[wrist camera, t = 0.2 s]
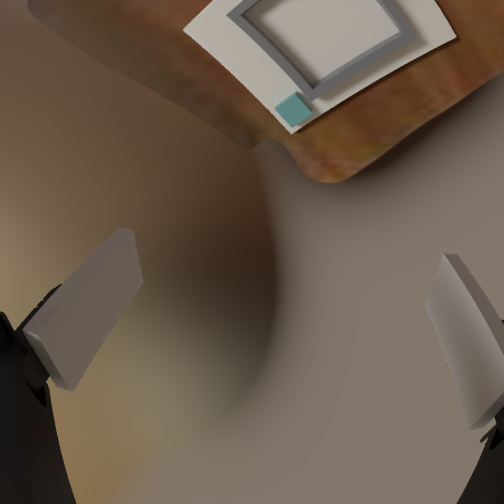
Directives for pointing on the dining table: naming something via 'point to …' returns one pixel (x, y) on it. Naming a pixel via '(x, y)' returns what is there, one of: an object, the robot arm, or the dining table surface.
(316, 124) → the dining table surface
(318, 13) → the pocket plate
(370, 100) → the dining table surface
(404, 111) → the dining table surface
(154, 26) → the dining table surface
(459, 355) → the robot arm
